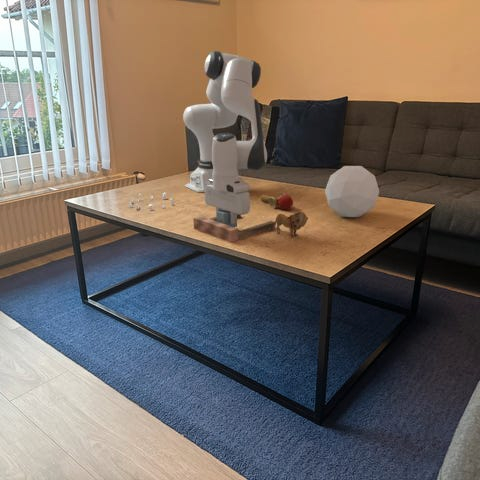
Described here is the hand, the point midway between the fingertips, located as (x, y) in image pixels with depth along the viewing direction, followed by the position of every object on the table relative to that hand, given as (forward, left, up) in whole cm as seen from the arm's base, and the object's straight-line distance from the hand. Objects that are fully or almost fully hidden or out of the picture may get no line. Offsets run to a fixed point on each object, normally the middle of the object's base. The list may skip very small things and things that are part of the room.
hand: (226, 221), depth 161 cm
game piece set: (-49, 0, -4) cm, 49 cm away
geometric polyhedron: (+21, +44, -3) cm, 49 cm away
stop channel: (0, +3, -3) cm, 5 cm away
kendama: (-9, +34, -4) cm, 35 cm away
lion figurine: (+19, +12, -3) cm, 22 cm away
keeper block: (0, 0, -2) cm, 2 cm away
